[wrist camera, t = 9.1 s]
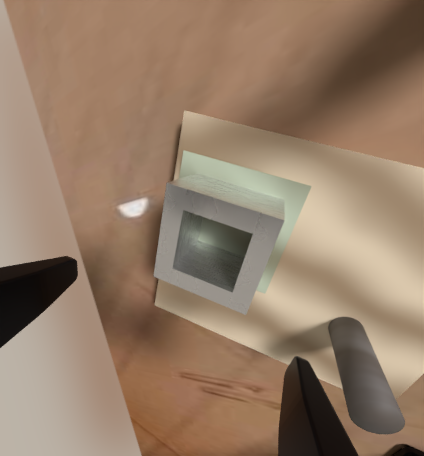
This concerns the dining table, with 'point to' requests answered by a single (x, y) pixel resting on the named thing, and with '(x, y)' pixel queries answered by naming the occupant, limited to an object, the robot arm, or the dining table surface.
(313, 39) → the dining table surface
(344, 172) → the board
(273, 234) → the collar
